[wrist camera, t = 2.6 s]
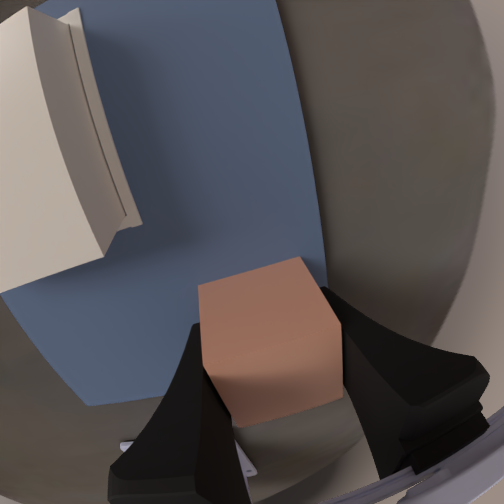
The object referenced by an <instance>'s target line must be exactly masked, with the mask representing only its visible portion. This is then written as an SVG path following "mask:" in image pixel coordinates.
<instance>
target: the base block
mask: <svg viewBox="0 0 504 504" xmlns="http://www.w3.org/2000/svg"><path fill="white" fill-rule="evenodd" d="M125 215H126V213H125V211H124V208H123V206H122V203H121V200H120V198H119V195H118V192H117V190H116V187H115V184H114V182H113V179H112V176H111V173H110V171H109V168H108V165H107V162H106V159H105V156H104V153H103V150H102V147H101V144H100V141H99V138H98V135H97V132H96V129H95V125H94V122H93V119H92V115H91V112H90V109H89V105H88V102H87V98H86V94H85V91H84V87H83V83H82V80H81V76H80V72H79V68H78V64H77V59H76V55H75V51H74V46H73V42H72V37H71V32H70V27H69V25H67V24H65V23H63V22H61V21H59V20H57V19H55V18H53V17H50V16H48V15H46V14H44V13H42V12H40V11H37V10H35V9H33V8H31V7H28V6H26V7H25V8H23V9H22V10H20V11H18V12H17V13H15V14H14V15H12V16H11V17H9V18H8V19H7V20H5V21H4V22H2V23H1V24H0V293H2V292H5V291H7V290H10V289H13V288H16V287H18V286H21V285H24V284H26V283H29V282H32V281H35V280H38V279H40V278H43V277H46V276H49V275H52V274H55V273H58V272H60V271H63V270H66V269H69V268H72V267H75V266H78V265H81V264H84V263H87V262H90V261H93V260H96V259H99V258H102V257H104V256H105V254H106V252H107V250H108V248H109V246H110V244H111V242H112V240H113V238H114V236H115V234H116V232H117V230H118V228H119V226H120V224H121V222H122V220H123V219H124V217H125Z"/></svg>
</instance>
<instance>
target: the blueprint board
mask: <svg viewBox="0 0 504 504" xmlns="http://www.w3.org/2000/svg"><path fill="white" fill-rule="evenodd" d="M34 9H35V10H37V11H40V12H42V13H44V14H46V15H48V16H50V17H53V18H55V19H57V20H59V21H61V22H63V23H65V24H67V25H69V27H70V32H71V37H72V42H73V46H74V51H75V55H76V59H77V64H78V68H79V72H80V76H81V80H82V83H83V87H84V91H85V94H86V98H87V102H88V105H89V109H90V112H91V115H92V119H93V122H94V125H95V129H96V132H97V135H98V138H99V141H100V144H101V147H102V150H103V153H104V156H105V159H106V162H107V165H108V168H109V171H110V173H111V176H112V179H113V182H114V184H115V187H116V190H117V192H118V195H119V198H120V200H121V203H122V206H123V208H124V211H125V213H126V215H125V217H124V219H123V220H122V222H121V224H120V226H119V228H118V230H117V232H116V234H115V236H114V238H113V240H112V242H111V244H110V246H109V248H108V250H107V252H106V254H105V256H104V257H102V258H99V259H96V260H93V261H90V262H87V263H84V264H81V265H78V266H75V267H72V268H69V269H66V270H63V271H60V272H58V273H55V274H52V275H49V276H46V277H43V278H40V279H38V280H35V281H32V282H29V283H26V284H24V285H21V286H18V287H16V288H13V289H10V290H7V291H5V292H2V293H0V295H1V297H2V298H3V300H4V302H5V303H6V305H7V306H8V308H9V309H10V311H11V312H12V314H13V315H14V317H15V318H16V320H17V321H18V323H19V324H20V326H21V327H22V328H23V330H24V331H25V333H26V334H27V335H28V337H29V338H30V339H31V341H32V342H33V343H34V345H35V346H36V347H37V349H38V350H39V351H40V353H41V354H42V355H43V356H44V358H45V359H46V360H47V361H48V363H49V364H50V365H51V366H52V367H53V369H54V370H55V371H56V372H57V373H58V374H59V376H60V377H61V378H62V379H63V380H64V381H65V382H66V384H67V385H68V386H69V387H70V388H71V389H72V390H73V391H74V392H75V393H76V395H77V396H78V397H79V398H80V399H81V400H82V401H83V402H84V403H85V404H86V405H87V406H94V405H103V404H111V403H119V402H126V401H133V400H139V399H145V398H151V397H157V396H163V395H165V394H166V392H167V390H168V388H169V385H170V383H171V381H172V379H173V377H174V374H175V372H176V370H177V367H178V365H179V362H180V359H181V357H182V354H183V351H184V349H185V346H186V343H187V339H188V336H189V333H190V330H191V327H192V325H193V324H195V323H199V322H200V315H199V296H198V285H201V284H205V283H209V282H212V281H216V280H219V279H223V278H226V277H230V276H233V275H237V274H240V273H244V272H247V271H251V270H254V269H258V268H261V267H265V266H268V265H272V264H275V263H278V262H282V261H285V260H289V259H292V258H296V257H299V256H300V257H301V259H302V261H303V262H304V264H305V266H306V267H307V269H308V270H309V272H310V274H311V275H312V277H313V279H314V280H315V282H316V283H317V285H318V287H319V288H320V287H323V286H325V287H327V288H328V280H327V271H326V262H325V253H324V245H323V237H322V229H321V221H320V214H319V207H318V200H317V194H316V187H315V181H314V174H313V168H312V162H311V157H310V151H309V145H308V140H307V134H306V129H305V124H304V119H303V114H302V109H301V104H300V99H299V94H298V89H297V85H296V80H295V76H294V71H293V67H292V63H291V58H290V54H289V50H288V46H287V42H286V38H285V34H284V30H283V26H282V22H281V19H280V15H279V11H278V8H277V4H276V0H48V1H46V2H44V3H43V4H41V5H39V6H37V7H36V8H34Z"/></svg>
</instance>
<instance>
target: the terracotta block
mask: <svg viewBox="0 0 504 504" xmlns="http://www.w3.org/2000/svg"><path fill="white" fill-rule="evenodd" d="M198 296H199V315H200V331H201V346H202V359H203V366H204V368H205V370H206V372H207V373H208V375H209V377H210V379H211V381H212V383H213V384H214V386H215V388H216V390H217V391H218V393H219V395H220V397H221V398H222V400H223V402H224V404H225V405H226V407H227V409H228V411H229V412H230V414H231V416H232V417H233V419H234V421H235V422H236V424H237V426H238V427H239V428H242V427H247V426H251V425H255V424H259V423H263V422H267V421H270V420H274V419H278V418H281V417H285V416H288V415H291V414H295V413H298V412H301V411H305V410H308V409H311V408H314V407H317V406H320V405H323V404H326V403H329V402H331V401H334V400H337V399H340V398H342V397H343V365H342V335H341V323H340V322H339V320H338V318H337V317H336V315H335V313H334V312H333V310H332V308H331V307H330V305H329V303H328V302H327V300H326V298H325V297H324V295H323V293H322V292H321V290H320V288H319V287H318V285H317V283H316V282H315V280H314V279H313V277H312V275H311V274H310V272H309V270H308V269H307V267H306V266H305V264H304V262H303V261H302V259H301V257H300V256H299V257H296V258H292V259H289V260H285V261H282V262H278V263H275V264H272V265H268V266H265V267H261V268H258V269H254V270H251V271H247V272H244V273H240V274H237V275H233V276H230V277H226V278H223V279H219V280H216V281H212V282H209V283H205V284H201V285H198Z"/></svg>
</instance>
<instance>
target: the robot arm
mask: <svg viewBox="0 0 504 504" xmlns="http://www.w3.org/2000/svg"><path fill="white" fill-rule="evenodd" d="M320 290H321V292H322V293H323V295H324V297H325V298H326V300H327V302H328V303H329V305H330V307H331V308H332V310H333V312H334V313H335V315H336V317H337V318H338V320H339V322H340V323H341V335H342V365H343V385H344V386H345V388H346V390H347V392H348V394H349V396H350V398H351V401H352V403H353V406H354V408H355V410H356V413H357V415H358V418H359V420H360V423H361V426H362V428H363V431H364V433H365V436H366V439H367V442H368V444H369V447H370V450H371V452H372V456H373V459H374V462H375V465H376V468H377V471H378V475H379V478H380V480H379V481H377V482H375V483H372V484H370V485H367V486H365V487H363V488H360V489H357V490H355V491H352V492H350V493H347V494H344V495H341V496H338V497H335V498H332V499H329V500H326V501H323V502H319V503H316V504H374V503H377V502H379V501H381V500H384V499H385V498H388V497H390V496H393V495H395V494H397V493H399V492H401V491H403V490H405V489H407V488H409V487H411V486H413V485H415V484H417V483H419V482H420V483H419V484H417V485H415V486H414V487H412V488H410V489H409V490H407V492H406V495H405V496H404V497H403V498H402V499H400V500H399V501H398V502H397V504H470V503H471V502H473V501H474V500H475V499H477V498H478V497H480V496H481V495H482V494H484V493H485V492H486V491H488V490H489V489H490V488H492V487H493V486H494V485H495V484H497V483H498V482H499V481H500V480H502V479H503V478H504V406H503V407H502V408H501V409H500V410H498V411H497V412H496V413H494V414H493V415H492V416H491V417H489V418H488V419H485V417H484V416H483V414H482V413H481V411H482V409H483V407H482V405H481V403H480V402H479V399H480V397H481V396H482V394H483V393H484V391H485V389H486V387H487V385H488V383H489V379H490V375H489V374H488V372H487V371H486V370H485V368H484V367H483V366H482V364H481V363H480V362H479V361H478V360H477V359H476V358H475V357H474V356H469V355H463V354H457V353H452V352H448V351H444V350H440V349H437V348H433V347H430V346H427V345H424V344H422V343H419V342H416V341H413V340H411V339H408V338H406V337H404V336H401V335H399V334H397V333H395V332H393V331H391V330H389V329H387V328H385V327H384V326H382V325H380V324H378V323H377V322H375V321H373V320H372V319H370V318H368V317H367V316H365V315H364V314H362V313H361V312H359V311H358V310H356V309H355V308H354V307H352V306H351V305H349V304H348V303H347V302H345V301H344V300H343V299H341V298H340V297H339V296H337V295H336V294H335V293H333V292H332V291H331V290H330V289H328V288H327V287H325V286H323V287H320ZM120 449H121V450H122V451H124V453H123V454H122V455H121V456H120V457H119V458H118V459H117V460H116V461H115V462H114V463H113V464H112V465H111V466H110V471H109V477H108V501H109V503H110V504H252V501H251V496H250V491H249V486H248V481H247V477H250V476H254V475H256V474H257V469H256V468H255V467H254V465H253V464H252V463H251V461H250V460H249V459H248V457H247V456H246V454H245V453H244V452H243V450H242V449H241V447H240V446H239V444H238V443H237V442H236V440H235V439H234V434H233V428H232V419H231V414H230V412H229V411H228V409H227V407H226V405H225V404H224V402H223V400H222V398H221V397H220V395H219V393H218V391H217V390H216V388H215V386H214V384H213V383H212V381H211V379H210V377H209V375H208V373H207V372H206V370H205V368H204V366H203V359H202V346H201V331H200V322H199V323H195V324H193V325H192V327H191V330H190V333H189V336H188V339H187V343H186V346H185V349H184V351H183V354H182V357H181V359H180V362H179V365H178V367H177V370H176V372H175V374H174V377H173V379H172V381H171V383H170V385H169V388H168V390H167V392H166V394H165V395H164V397H163V399H162V401H161V403H160V405H159V406H158V408H157V409H156V411H155V413H154V414H153V416H152V417H151V419H150V421H149V422H148V423H147V425H146V426H145V428H144V429H143V430H142V432H141V433H140V434H139V435H138V437H137V438H136V439H135V441H131V442H122V443H121V444H120ZM426 478H427V479H426ZM421 481H422V482H421Z"/></svg>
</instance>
